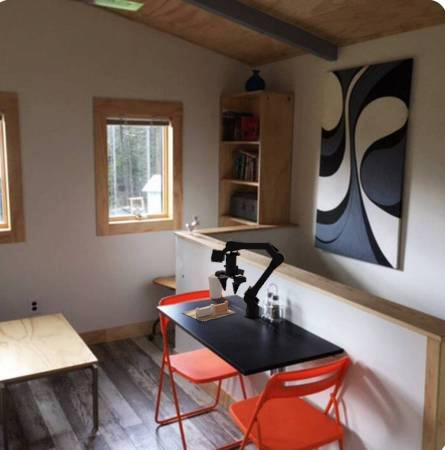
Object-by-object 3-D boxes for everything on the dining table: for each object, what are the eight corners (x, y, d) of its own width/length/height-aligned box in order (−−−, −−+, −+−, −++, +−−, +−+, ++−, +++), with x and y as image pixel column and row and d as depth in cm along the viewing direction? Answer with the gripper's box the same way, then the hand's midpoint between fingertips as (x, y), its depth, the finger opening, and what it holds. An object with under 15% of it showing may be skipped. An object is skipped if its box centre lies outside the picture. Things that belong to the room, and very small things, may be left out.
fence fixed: (214, 315, 276) (215, 304, 275) (197, 319, 268) (197, 309, 267) (212, 314, 277) (212, 303, 276) (194, 318, 269) (195, 308, 268)
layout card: (236, 313, 280) (236, 312, 280) (202, 322, 264) (202, 321, 264) (214, 305, 292) (214, 304, 292) (181, 313, 277) (181, 312, 276)
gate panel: (228, 310, 282) (228, 301, 282) (215, 313, 276) (215, 304, 275) (226, 309, 284) (226, 300, 283) (213, 312, 277) (213, 303, 277)
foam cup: (226, 296, 309) (227, 275, 307) (218, 300, 302) (218, 278, 300) (213, 293, 314) (213, 272, 312) (204, 297, 306) (205, 275, 304)
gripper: (254, 264, 272) (253, 294, 274) (230, 258, 285) (229, 286, 288) (239, 267, 264) (237, 297, 267) (214, 260, 278) (213, 289, 280)
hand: (229, 292), depth 276 cm, fingers open, 8 cm apart
